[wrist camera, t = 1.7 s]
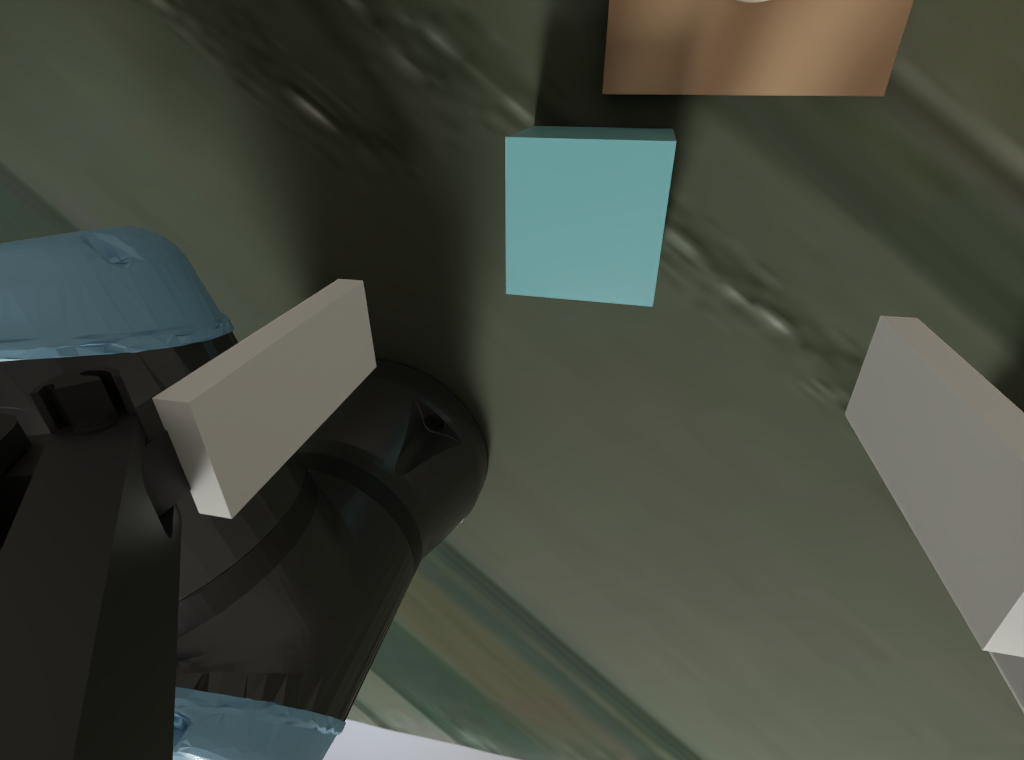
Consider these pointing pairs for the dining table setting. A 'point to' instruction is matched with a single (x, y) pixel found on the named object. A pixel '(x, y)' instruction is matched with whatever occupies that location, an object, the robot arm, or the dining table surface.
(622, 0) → the wooden peg stand
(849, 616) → the dining table surface
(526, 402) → the dining table surface
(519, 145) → the teal block
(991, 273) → the dining table surface
